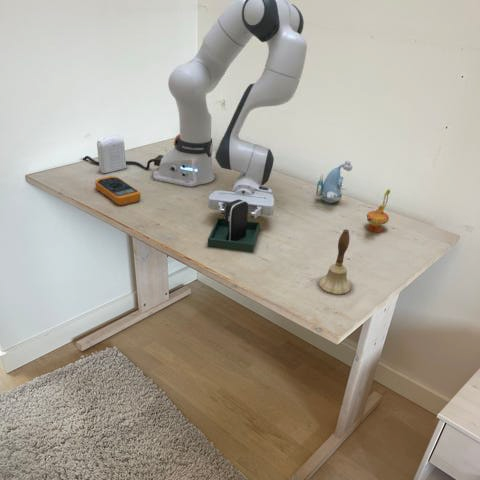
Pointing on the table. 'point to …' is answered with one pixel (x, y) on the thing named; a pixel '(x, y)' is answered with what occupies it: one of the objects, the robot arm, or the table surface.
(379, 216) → the magic lamp
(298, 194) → the table surface
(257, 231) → the storage box
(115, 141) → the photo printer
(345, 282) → the hand bell
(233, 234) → the battery charger
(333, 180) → the toy figure
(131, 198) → the multimeter
